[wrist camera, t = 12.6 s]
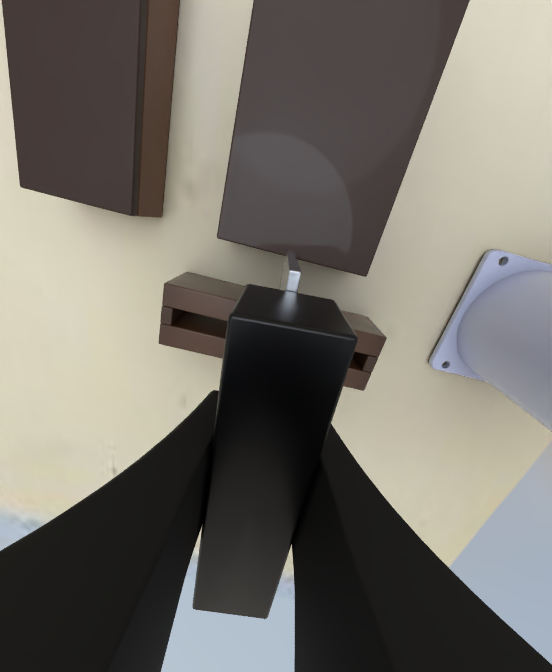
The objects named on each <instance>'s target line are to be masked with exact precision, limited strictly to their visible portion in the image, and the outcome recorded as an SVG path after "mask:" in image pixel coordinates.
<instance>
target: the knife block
mask: <svg viewBox="0 0 552 672" xmlns="http://www.w3.org/2000/svg"><path fill="white" fill-rule="evenodd" d="M244 289H245V286H241V285H237V284H233V283H229V282H225V281H221V280H217V279H213V278H209V277H205V276H201V275H197V274H193V273H189V272H186V273H184V274H182V275H180V276H178V277H176V278H174V279H172V280H170V281H168V282H166V283H165V284H164V292H163V302H162V305H163V306H162V311H161V324H160V334H159V344H162V345H166V346H171V347H175V348H180V349H184V350H188V351H193V352H197V353H201V354H206V355H210V356H214V357H219V358H223V355H224V347H225V339H226V330H227V322H228V316H229V314H230V312H231V311H232V309H233V307H234V306H235V304H236V302H237V301H238V299H239V297H240V296H241V294H242V292H243V291H244ZM341 312H342V313H343V315H344V316H345V318H346V319H347V321H348V322H349V324H350V325H351V327H352V328H353V330H354V331H355V333H356V335H357V336H358V342H357V345H356V348H355V351H354V354H353V357H352V360H351V363H350V366H349V369H348V372H347V375H346V378H345V381H344V385H343V386H345V387H350V388H354V389H358V390H364V389H365V387H366V384H367V382H368V380H369V378H370V375H371V372H372V371H373V369H374V366H375V364H376V362H377V359H378V357H379V355H380V352H381V350H382V348H383V346H384V343H385V341H386V336H385V335H384V334H383V333H382V332H381V331H380V330H379V329H378V328H377V327H376V325H375V324H374V323H373V322H372V321H371V320H370V319H369V318H368V317H365V316H361V315H357V314H353V313H349V312H345V311H341Z"/></svg>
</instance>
